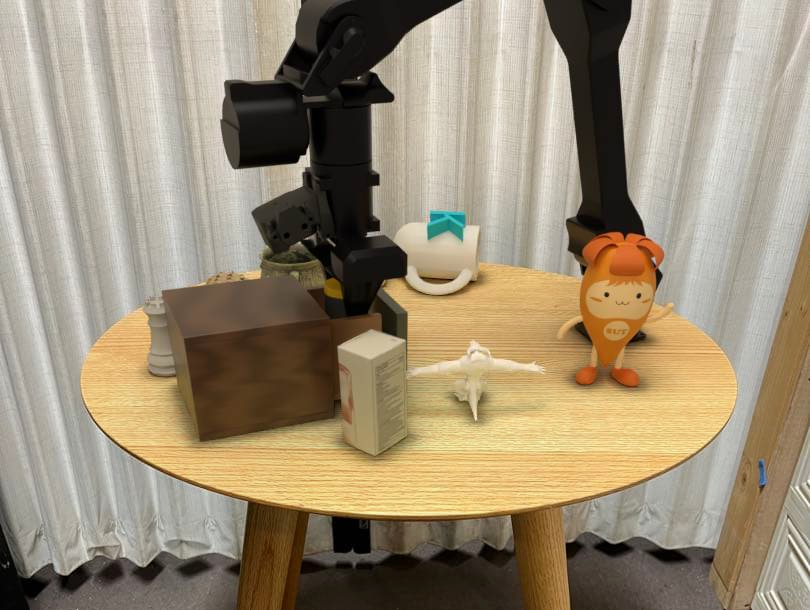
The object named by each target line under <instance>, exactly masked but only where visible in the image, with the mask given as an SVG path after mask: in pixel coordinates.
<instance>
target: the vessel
mask: <svg viewBox="0 0 810 610" xmlns="http://www.w3.org/2000/svg"><path fill="white" fill-rule="evenodd" d="M258 257H259V259H260V260H261V262H260V263H259V269H261V271H260V276H259V278H267V277H275V276H283V275H291V274H293V275H294V276H295V278H296V279H297V280H298V281H299V282H300V283H301V285H302V286H303V287H304V288H306V287H313V286H321V285H324V283H325V279H324V276H323V273H322V270H321V266H320V263H319V261H318V259H317V258H315V257H314V256H313V255H312V254H311V253H310V252H309V251H308V250H307V249H306V248H305V247H304V246H303V245H302V244H301V242H298V243H296V244H294V245H292V246H291V247H290V248H289V250H287V251H285V252H283V253H280V254H274V253H272V251H271V249H270V248H269V247H266V248H264V249H262V250H261V251H260V252H259V253H258Z"/></svg>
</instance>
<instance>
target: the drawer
mask: <svg viewBox="0 0 810 610" xmlns="http://www.w3.org/2000/svg"><path fill="white" fill-rule="evenodd" d="M305 289H306V290H307V292H308V293H309V294H310V295H311V296H312V297H313V299H314V300H315V301H316V302H317V303H318V305H319V306H320V307H321V308H322V309H323V310H324V312H325V298H324V285H321V286H313V287H306V288H305ZM408 321H409V313H408V311H407V310H406V309H404V307H403V306H402V305H400V304H399V303H398V302H397V301H396V300H395V299H394V298H393V297H392V296H391V295H390V294H389V293H388V292H387V291H385V290H384V289H383V287H382V286H381V287H380V289H379V291H378V293H377V295H376V297H375V299H374V301H373V303H372V305H371V307H370V309H369V312H368V314H366V315H359V316H352V317H345V318H338V319H331V320H330V338H331V359H332V381H333V401H337V400H341V392H340V377H339V361H338V346H339V345H341V344H343V343H345V342H347V341H349V340H351V339H353V338H355V337H357V336H359V335H361V334H363V333H365V332H367V331H369V330H376V331H379V332H383V333H386V334H389V335H392V336H394V337H398V338H401V339H404V340H406V371H408V339H409V337H408V336H409V335H408V334H409V333H408V330H409V329H408V328H409V322H408ZM406 374H407V373H406ZM406 377H407V376H406ZM406 392H407V393H408V379H407V380H406Z"/></svg>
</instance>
